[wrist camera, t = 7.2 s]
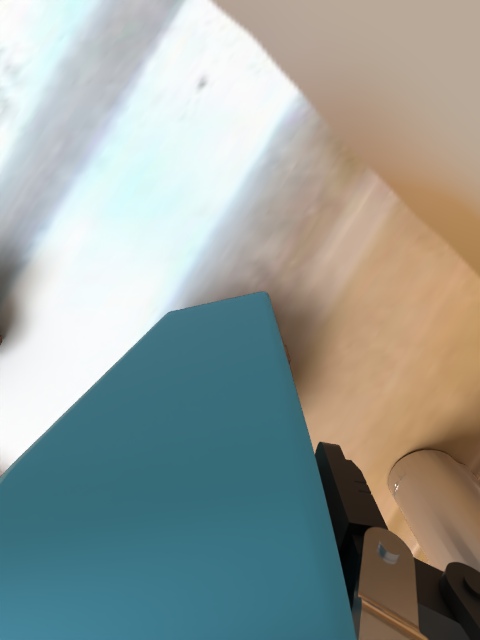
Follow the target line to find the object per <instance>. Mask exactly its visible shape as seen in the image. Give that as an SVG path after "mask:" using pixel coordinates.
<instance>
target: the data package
mask: <svg viewBox="0 0 480 640" xmlns="http://www.w3.org/2000/svg"><path fill="white" fill-rule="evenodd" d="M0 640H357V639H356V634H355V628H354V623H353V618H352V613H351V608H350V603H349V599H348V594H347V589H346V585H345V580H344V575H343V571H342V566H341V562H340V557H339V553H338V549H337V544H336V540H335V536H334V531H333V527H332V523H331V519H330V515H329V510H328V506H327V502H326V498H325V494H324V490H323V486H322V482H321V478H320V474H319V470H318V466H317V462H316V458H315V454H314V451H313V447H312V443H311V439H310V436H309V432H308V429H307V425H306V422H305V418H304V415H303V411H302V408H301V404H300V401H299V398H298V394H297V391H296V387H295V384H294V380H293V377H292V373H291V370H290V367H289V363H288V360H287V356H286V353H285V349H284V346H283V342H282V339H281V336H280V332H279V329H278V325H277V322H276V318H275V315H274V311H273V308H272V305H271V301H270V298H269V295H268V294H267V293H266V292H257V293H253V294H248V295H244V296H239V297H235V298H230V299H226V300H221V301H216V302H212V303H207V304H203V305H198V306H194V307H189V308H185V309H180V310H176V311H171V312H168V313H167V314H166V315H165V316H164V317H163V318H162V319H161V320H160V321H159V322H157V323H156V324H155V325H154V326H153V327H152V328H151V329H150V330H149V331H148V332H147V333H146V334H145V335H144V336H143V337H142V338H141V339H140V340H139V341H138V342H137V343H136V344H135V345H134V346H133V347H132V348H131V349H130V350H129V351H128V352H127V353H126V354H125V355H124V356H123V357H122V358H121V359H120V360H119V361H118V362H116V363H115V364H114V365H113V366H112V367H111V368H110V369H109V370H108V371H107V372H106V373H105V374H104V375H103V376H102V377H101V378H100V379H99V380H98V381H97V382H96V383H95V384H94V385H93V386H92V387H91V388H90V389H89V390H88V391H87V392H86V393H85V394H84V395H83V396H82V397H81V398H80V399H79V400H78V401H77V402H75V403H74V404H73V405H72V406H71V407H70V408H69V409H68V410H67V411H66V412H65V413H64V414H63V415H62V416H61V417H60V418H59V419H58V420H57V421H56V422H55V423H54V424H53V425H52V426H51V427H50V428H49V429H48V430H47V431H46V432H45V433H44V434H43V435H42V436H41V437H40V438H39V439H38V440H37V441H35V442H34V443H33V444H32V445H31V446H30V447H29V448H28V449H27V450H26V451H25V452H24V453H23V454H22V455H21V456H20V457H19V458H18V459H17V460H16V461H15V462H14V463H13V464H12V465H11V466H10V467H9V468H8V469H7V470H6V471H5V473H4V474H3V475H2V476H1V477H0Z"/></svg>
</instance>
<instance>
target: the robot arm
mask: <svg viewBox="0 0 480 640" xmlns="http://www.w3.org/2000/svg"><path fill="white" fill-rule="evenodd" d="M315 458H316V462H317V466H318V470H319V474H320V478H321V482H322V486H323V490H324V494H325V498H326V502H327V506H328V510H329V515H330V519H331V523H332V527H333V531H334V536H335V540H336V544H337V549H338V553H339V557H340V562H341V566H342V571H343V575H344V580H345V585H346V589H347V594H348V599H349V603H350V608H351V613H352V618H353V623H354V628H355V634H356V639H357V640H480V481H479V480H478V479H477V478H476V476H475V475H474V474H473V473H472V472H471V471H470V470H469V469H468V468H467V467H466V466H465V465H464V464H460V463H457V462H456V461H455V460H454V459H453V458H452V457H451V456H449V455H448V454H446V453H444V452H441V451H437V450H421V451H416V452H414V453H411V454H409V455H407V456H405V457H403V458H402V459H401V460H400V461H398V462H397V463H396V464H395V466H394V467H393V468H392V470H391V472H390V474H389V479H388V486H389V489H390V491H391V493H392V495H393V497H394V499H395V501H396V502H397V504H398V506H399V508H400V510H401V512H402V513H403V515H404V517H405V519H406V521H407V523H408V525H409V526H410V528H411V530H412V532H413V534H414V536H415V537H416V539H417V541H418V543H419V545H420V547H421V548H422V550H423V552H424V554H425V556H426V558H427V559H428V561H429V563H430V565H431V566H430V565H428V564H426V563H424V562H422V561H420V560H418V559H416V558H414V557H413V555H412V553H411V551H410V549H409V548H408V546H407V545H406V544H405V543H404V542H403V541H402V540H401V539H400V538H399V537H398V536H397V535H395V534H394V533H392V532H391V531H389V530H388V528H387V526H386V524H385V522H384V519H383V517H382V515H381V513H380V511H379V509H378V506H377V504H376V502H375V500H374V498H373V496H372V495H371V491H370V489H369V487H368V485H367V484H366V480H365V478H364V476H363V474H362V472H361V470H360V469H359V468H358V467H357V466H356V465H355V464H354V463H353V462H352V460H346V459H345V457H344V455H343V452H342V450H341V448H340V446H339V445H336V444H330V443H324V442H319V444H318V446H317V449H316V453H315Z"/></svg>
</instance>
